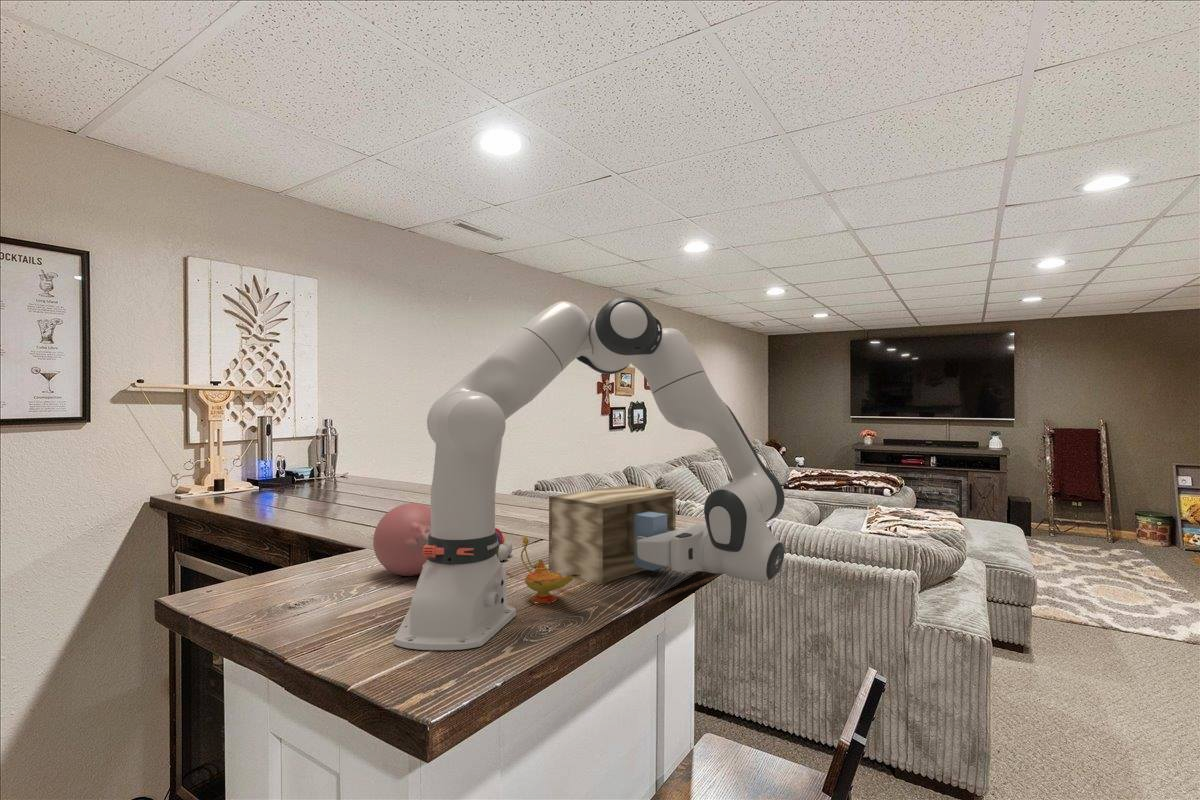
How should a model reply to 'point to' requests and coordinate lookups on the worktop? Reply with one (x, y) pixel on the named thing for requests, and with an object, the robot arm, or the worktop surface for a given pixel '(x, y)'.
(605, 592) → the worktop surface
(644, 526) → the slate block
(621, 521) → the birch cubby
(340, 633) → the worktop surface
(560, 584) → the magic lamp
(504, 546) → the multicolored small figure
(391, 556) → the pink ball
